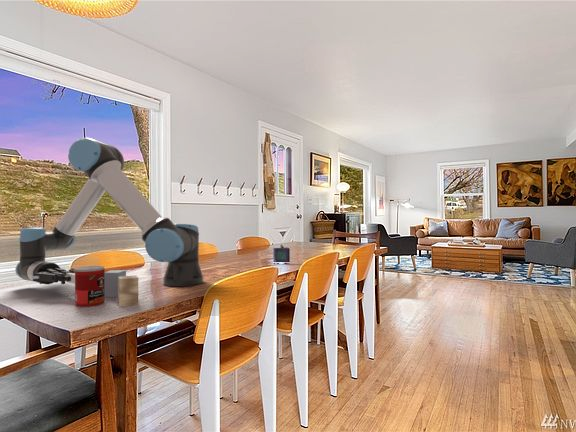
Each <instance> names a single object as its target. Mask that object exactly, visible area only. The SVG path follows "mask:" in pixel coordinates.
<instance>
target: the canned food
mask: <svg viewBox="0 0 576 432" xmlns="http://www.w3.org/2000/svg"><path fill="white" fill-rule="evenodd" d="M74 269H75V284H74V303H75V306H77V307H82V308H85V307H86V308H89V306H90V307H96V306H100V305H103V304H104V302H105V298H106V297H105V272H106V271H105V266H103V265H86V266H79V267H76V268H74Z"/></svg>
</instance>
